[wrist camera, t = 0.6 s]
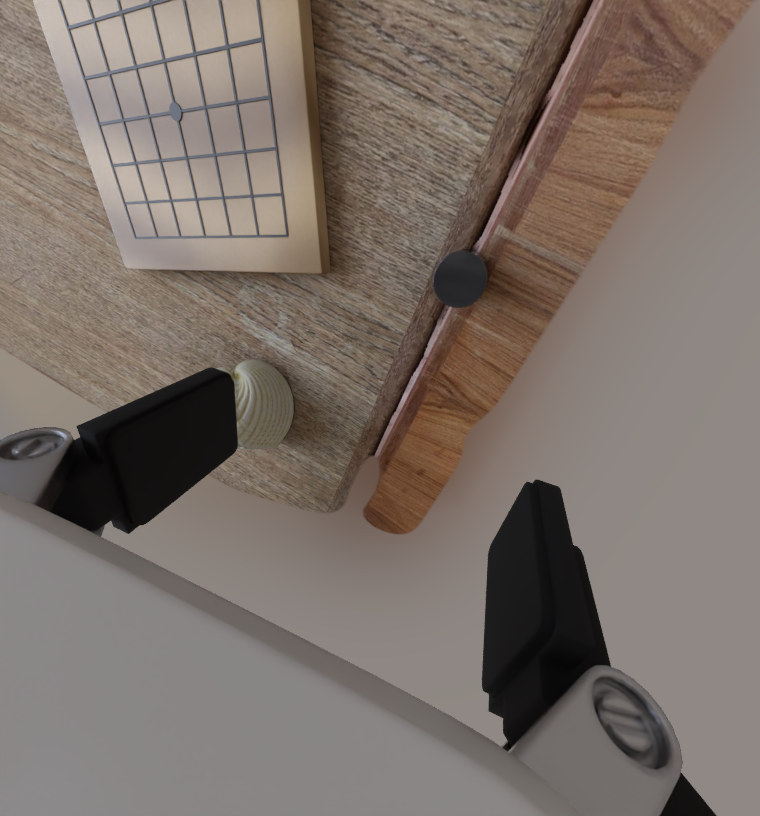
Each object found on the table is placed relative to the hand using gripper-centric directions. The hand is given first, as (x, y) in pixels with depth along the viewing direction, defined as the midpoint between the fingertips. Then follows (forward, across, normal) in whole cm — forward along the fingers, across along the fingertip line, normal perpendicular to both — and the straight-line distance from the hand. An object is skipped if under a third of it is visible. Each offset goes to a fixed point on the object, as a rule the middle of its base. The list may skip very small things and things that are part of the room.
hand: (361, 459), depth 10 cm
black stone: (+17, 0, -4) cm, 17 cm away
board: (+17, +21, -10) cm, 29 cm away
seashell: (+17, +16, +12) cm, 26 cm away
